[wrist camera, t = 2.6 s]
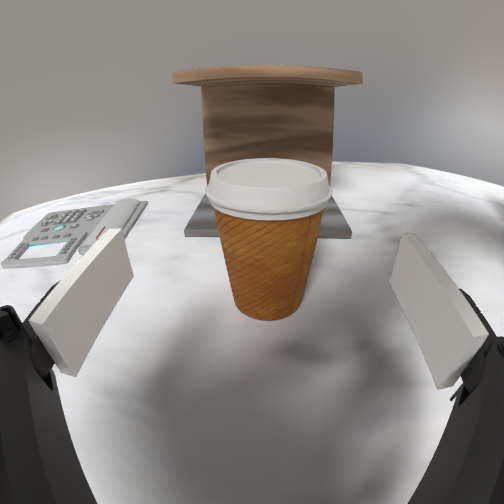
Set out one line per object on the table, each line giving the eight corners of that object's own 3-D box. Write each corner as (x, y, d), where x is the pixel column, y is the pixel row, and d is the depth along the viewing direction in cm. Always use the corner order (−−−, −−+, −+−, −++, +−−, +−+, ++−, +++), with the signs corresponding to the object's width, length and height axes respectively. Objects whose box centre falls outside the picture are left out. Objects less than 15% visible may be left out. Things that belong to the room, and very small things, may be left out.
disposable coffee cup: (212, 275, 30) (202, 161, 24) (299, 264, 31) (306, 155, 25) (222, 342, 22) (206, 196, 16) (334, 323, 23) (358, 187, 17)
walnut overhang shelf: (350, 238, 36) (364, 71, 25) (185, 236, 38) (169, 71, 26) (327, 193, 52) (332, 79, 41) (210, 192, 53) (203, 78, 42)
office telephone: (146, 193, 49) (112, 247, 32) (148, 206, 50) (117, 265, 33) (46, 207, 47) (-8, 257, 30) (49, 218, 48) (-2, 272, 31)
